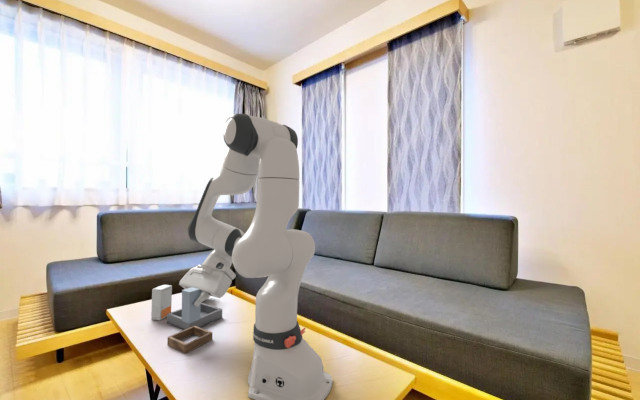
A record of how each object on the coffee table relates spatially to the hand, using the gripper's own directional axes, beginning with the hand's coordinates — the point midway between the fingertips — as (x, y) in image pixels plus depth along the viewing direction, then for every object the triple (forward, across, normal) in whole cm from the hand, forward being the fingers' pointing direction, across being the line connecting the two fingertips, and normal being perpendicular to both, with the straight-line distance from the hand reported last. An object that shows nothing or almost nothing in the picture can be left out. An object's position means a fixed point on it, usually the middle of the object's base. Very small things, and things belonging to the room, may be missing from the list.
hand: (189, 304), depth 88 cm
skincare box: (+4, -27, +14) cm, 31 cm away
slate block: (+3, 0, +4) cm, 5 cm away
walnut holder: (+9, 0, +10) cm, 13 cm away
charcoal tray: (+1, -13, +17) cm, 22 cm away
